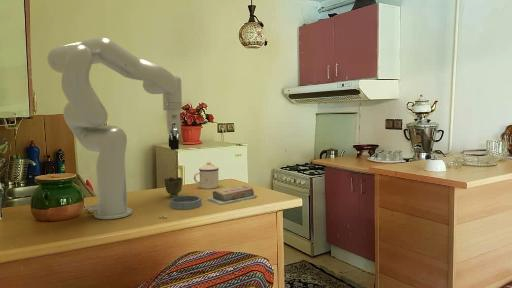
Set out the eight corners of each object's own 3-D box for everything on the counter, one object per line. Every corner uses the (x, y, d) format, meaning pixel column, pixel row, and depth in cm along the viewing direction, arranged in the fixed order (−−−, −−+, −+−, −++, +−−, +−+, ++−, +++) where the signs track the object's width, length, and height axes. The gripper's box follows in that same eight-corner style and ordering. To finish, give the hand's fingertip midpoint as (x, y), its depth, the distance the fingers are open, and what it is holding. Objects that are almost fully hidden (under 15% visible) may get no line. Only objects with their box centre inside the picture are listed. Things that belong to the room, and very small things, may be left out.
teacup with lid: (214, 184, 190) (213, 160, 189) (222, 187, 182) (221, 162, 181) (190, 187, 184) (189, 162, 183) (197, 190, 176) (197, 165, 175)
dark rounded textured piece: (185, 195, 168) (184, 176, 167) (180, 199, 161) (179, 180, 160) (168, 195, 169) (167, 176, 168) (162, 199, 162) (161, 180, 161)
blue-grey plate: (171, 210, 144) (171, 204, 144) (168, 203, 156) (168, 196, 155) (204, 207, 148) (203, 201, 147) (199, 200, 159) (198, 194, 159)
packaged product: (242, 183, 170) (257, 187, 162) (243, 194, 170) (257, 198, 163) (206, 189, 159) (220, 194, 151) (207, 201, 159) (220, 206, 152)
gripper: (184, 106, 155) (185, 150, 156) (179, 106, 171) (180, 146, 173) (164, 107, 153) (165, 151, 154) (162, 106, 169) (163, 146, 171)
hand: (173, 148), depth 164 cm, fingers open, 9 cm apart
